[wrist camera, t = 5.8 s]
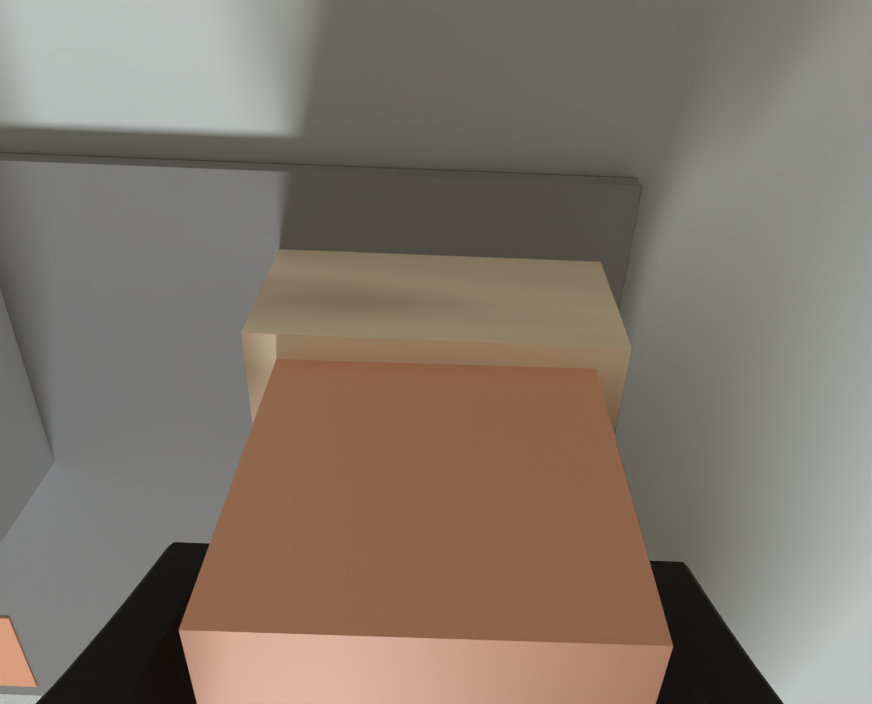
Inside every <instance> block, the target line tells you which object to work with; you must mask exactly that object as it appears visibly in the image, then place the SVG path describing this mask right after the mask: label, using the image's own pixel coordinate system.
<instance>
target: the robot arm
mask: <svg viewBox="0 0 872 704" xmlns="http://www.w3.org/2000/svg"><path fill="white" fill-rule="evenodd" d="M209 544H210V543H186V542H173V543H172V544H171V545H169V546H168V547H167V548H166V549H165V551H164V552H163V553H162V555H161V556H160V557H159V559H158V560H157V561H156V562H155V564H154V565H153V566H152V568H151V569H150V570H149V571H148V573H147V574H146V575H145V577H144V578H143V579H142V580H141V582H140V583H139V584H138V585H137V587H136V588H135V589H134V590H133V592H132V593H131V594H130V595H129V597H128V598H127V599H126V600H125V602H124V603H123V604H122V605H121V607H120V608H119V609H118V610H117V611H116V613H115V614H114V615H113V616H112V618H111V619H110V620H109V621H108V622H107V624H106V625H105V626H104V627H103V628H102V630H101V631H100V632H99V633H98V634H97V635H96V637H95V638H94V639H93V640H92V641H91V642H90V644H89V645H88V646H87V647H86V648H85V649H84V650H83V652H82V653H81V654H80V655H79V656H78V657H77V659H76V660H75V661H74V662H73V663H72V664H71V666H70V667H69V668H68V669H67V670H66V671H65V672H64V674H63V675H62V676H61V677H60V678H59V679H58V680H57V681H56V683H55V684H54V685H53V686H52V687H51V688H50V689H49V690H48V691H47V692H46V693H45V694H44V695H43V696H42V698H41V699H40V700H39V701H38V702H37V703H36V704H197V702H196V698H195V694H194V690H193V686H192V682H191V678H190V674H189V670H188V666H187V662H186V658H185V654H184V650H183V646H182V642H181V638H180V634H179V628H180V625H181V622H182V619H183V617H184V614H185V611H186V608H187V606H188V603H189V600H190V597H191V594H192V592H193V589H194V586H195V583H196V581H197V578H198V575H199V572H200V569H201V567H202V564H203V561H204V558H205V556H206V553H207V550H208V547H209ZM650 565H651V568H652V572H653V576H654V579H655V583H656V586H657V590H658V593H659V597H660V601H661V604H662V608H663V611H664V615H665V619H666V622H667V626H668V629H669V633H670V636H671V640H672V644H673V649H672V652H671V655H670V658H669V662H668V665H667V668H666V672H665V675H664V678H663V681H662V685H661V688H660V691H659V695H658V698H657V701H656V704H784V703H783V702H782V701H781V699H780V698H779V697H778V695H777V694H776V693H775V691H774V690H773V689H772V687H771V686H770V685H769V683H768V682H767V681H766V679H765V678H764V677H763V675H762V674H761V673H760V671H759V670H758V669H757V667H756V666H755V665H754V663H753V662H752V660H751V659H750V658H749V656H748V655H747V653H746V652H745V651H744V649H743V648H742V646H741V645H740V644H739V642H738V641H737V639H736V638H735V636H734V635H733V633H732V632H731V631H730V629H729V628H728V626H727V625H726V623H725V622H724V620H723V619H722V617H721V616H720V615H719V613H718V612H717V610H716V609H715V607H714V606H713V604H712V603H711V601H710V600H709V598H708V597H707V595H706V594H705V592H704V591H703V589H702V588H701V586H700V585H699V583H698V582H697V580H696V578H695V577H694V575H693V574H692V572H691V571H690V569H689V568H688V567H687V566H686V565H685V564H684V563H683V562H667V561H650Z"/></svg>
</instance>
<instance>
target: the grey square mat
mask: <svg viewBox="0 0 872 704" xmlns="http://www.w3.org/2000/svg"><path fill="white" fill-rule="evenodd" d="M641 188H642V185H641V184H640V182H639V180H638V178H622V177H597V176H572V175H546V174H521V173H496V172H471V171H446V170H421V169H396V168H370V167H345V166H320V165H295V164H270V163H245V162H219V161H194V160H169V159H144V158H119V157H94V156H68V155H43V154H18V153H0V290H1V293H2V296H3V299H4V302H5V305H6V309H7V312H8V315H9V318H10V321H11V325H12V328H13V331H14V334H15V337H16V341H17V344H18V347H19V350H20V353H21V357H22V360H23V363H24V366H25V369H26V373H27V376H28V379H29V382H30V385H31V389H32V392H33V395H34V398H35V401H36V405H37V408H38V411H39V414H40V417H41V421H42V424H43V427H44V430H45V433H46V437H47V440H48V443H49V446H50V449H51V453H52V456H53V459H54V464H53V465H52V467H51V468H50V470H49V471H48V473H47V474H46V476H45V477H44V479H43V480H42V482H41V483H40V485H39V486H38V488H37V489H36V491H35V492H34V494H33V495H32V497H31V498H30V500H29V501H28V503H27V504H26V506H25V507H24V509H23V510H22V512H21V513H20V515H19V516H18V518H17V519H16V521H15V522H14V524H13V525H12V527H11V528H10V530H9V531H8V533H7V534H6V536H5V537H4V539H3V540H2V542H1V543H0V694H15V695H41V696H43V695H44V694H45V693H46V692H47V691H48V690H49V689H50V688H51V687H52V686H53V685H54V684H55V683H56V681H57V680H58V679H59V678H60V677H61V676H62V675H63V674H64V672H65V671H66V670H67V669H68V668H69V667H70V666H71V664H72V663H73V662H74V661H75V660H76V659H77V657H78V656H79V655H80V654H81V653H82V652H83V650H84V649H85V648H86V647H87V646H88V645H89V644H90V642H91V641H92V640H93V639H94V638H95V637H96V635H97V634H98V633H99V632H100V631H101V630H102V628H103V627H104V626H105V625H106V624H107V622H108V621H109V620H110V619H111V618H112V616H113V615H114V614H115V613H116V611H117V610H118V609H119V608H120V607H121V605H122V604H123V603H124V602H125V600H126V599H127V598H128V597H129V595H130V594H131V593H132V592H133V590H134V589H135V588H136V587H137V585H138V584H139V583H140V582H141V580H142V579H143V578H144V577H145V575H146V574H147V573H148V571H149V570H150V569H151V568H152V566H153V565H154V564H155V562H156V561H157V560H158V559H159V557H160V556H161V555H162V553H163V552H164V551H165V549H166V548H167V547H168V546H169V545H171V544H172V543H173V542H186V543H210V542H211V539H212V536H213V533H214V531H215V528H216V525H217V522H218V519H219V517H220V514H221V511H222V508H223V506H224V503H225V500H226V497H227V494H228V492H229V489H230V486H231V483H232V481H233V478H234V475H235V472H236V469H237V467H238V464H239V461H240V458H241V456H242V453H243V450H244V447H245V444H246V442H247V439H248V436H249V433H250V431H251V428H252V417H251V409H250V401H249V393H248V385H247V377H246V369H245V361H244V353H243V345H242V337H241V332H242V330H243V327H244V325H245V323H246V321H247V319H248V316H249V314H250V312H251V310H252V308H253V305H254V303H255V301H256V299H257V297H258V294H259V292H260V290H261V288H262V286H263V283H264V281H265V279H266V277H267V275H268V272H269V270H270V268H271V266H272V264H273V261H274V259H275V257H276V255H277V253H278V250H279V249H288V250H313V251H338V252H364V253H389V254H415V255H440V256H466V257H491V258H517V259H542V260H568V261H593V262H601V264H602V267H603V270H604V272H605V275H606V278H607V281H608V283H609V286H610V289H611V291H612V294H613V297H614V300H615V302H616V305H617V308H618V311H619V305H620V300H621V295H622V289H623V284H624V279H625V273H626V268H627V263H628V257H629V252H630V247H631V241H632V236H633V231H634V225H635V220H636V215H637V210H638V204H639V199H640V194H641Z"/></svg>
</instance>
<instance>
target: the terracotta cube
mask: <svg viewBox="0 0 872 704" xmlns="http://www.w3.org/2000/svg"><path fill="white" fill-rule="evenodd" d="M179 634H180V638H181V642H182V646H183V650H184V654H185V658H186V662H187V666H188V670H189V674H190V678H191V682H192V686H193V690H194V694H195V698H196V702H197V704H656V701H657V698H658V695H659V691H660V688H661V685H662V681H663V678H664V675H665V672H666V668H667V665H668V662H669V658H670V655H671V652H672V649H673V644H672V640H671V636H670V633H669V629H668V626H667V622H666V619H665V615H664V611H663V608H662V604H661V601H660V597H659V593H658V590H657V586H656V583H655V579H654V576H653V572H652V568H651V565H650V561H649V558H648V554H647V550H646V547H645V543H644V540H643V536H642V532H641V529H640V525H639V522H638V518H637V515H636V511H635V507H634V504H633V500H632V497H631V493H630V489H629V486H628V482H627V479H626V475H625V471H624V468H623V464H622V461H621V457H620V454H619V450H618V446H617V443H616V439H615V436H614V432H613V428H612V425H611V421H610V418H609V414H608V410H607V407H606V403H605V400H604V396H603V393H602V389H601V385H600V382H599V378H598V375H597V371H596V369H584V368H551V367H518V366H486V365H453V364H420V363H388V362H355V361H322V360H289V359H276V361H275V364H274V367H273V370H272V372H271V375H270V378H269V381H268V383H267V386H266V389H265V392H264V395H263V397H262V400H261V403H260V406H259V408H258V411H257V414H256V417H255V419H254V422H253V425H252V428H251V431H250V433H249V436H248V439H247V442H246V444H245V447H244V450H243V453H242V456H241V458H240V461H239V464H238V467H237V469H236V472H235V475H234V478H233V481H232V483H231V486H230V489H229V492H228V494H227V497H226V500H225V503H224V506H223V508H222V511H221V514H220V517H219V519H218V522H217V525H216V528H215V531H214V533H213V536H212V539H211V542H210V544H209V547H208V550H207V553H206V556H205V558H204V561H203V564H202V567H201V569H200V572H199V575H198V578H197V581H196V583H195V586H194V589H193V592H192V594H191V597H190V600H189V603H188V606H187V608H186V611H185V614H184V617H183V619H182V622H181V625H180V628H179Z"/></svg>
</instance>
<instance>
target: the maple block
mask: <svg viewBox="0 0 872 704" xmlns="http://www.w3.org/2000/svg"><path fill="white" fill-rule="evenodd" d="M241 337H242V345H243V353H244V361H245V369H246V377H247V385H248V393H249V401H250V409H251V417H252V425H253V422H254V419H255V417H256V414H257V411H258V408H259V406H260V403H261V400H262V397H263V395H264V392H265V389H266V386H267V383H268V381H269V378H270V375H271V372H272V370H273V367H274V364H275V361H276V359H289V360H322V361H355V362H388V363H420V364H453V365H486V366H518V367H551V368H584V369H596V371H597V375H598V378H599V382H600V385H601V389H602V393H603V396H604V400H605V403H606V407H607V410H608V414H609V418H610V421H611V425H612V428H613V432H614V434H615V430H616V425H617V420H618V415H619V410H620V405H621V400H622V395H623V391H624V386H625V381H626V376H627V371H628V366H629V361H630V356H631V352H632V346H631V343H630V341H629V338H628V335H627V332H626V330H625V327H624V324H623V322H622V319H621V316H620V313H619V311H618V308H617V305H616V302H615V300H614V297H613V294H612V291H611V289H610V286H609V283H608V281H607V278H606V275H605V272H604V270H603V267H602V264H601V262H593V261H568V260H542V259H517V258H491V257H466V256H440V255H415V254H389V253H364V252H338V251H313V250H288V249H279V250H278V253H277V255H276V257H275V259H274V261H273V264H272V266H271V268H270V270H269V272H268V275H267V277H266V279H265V281H264V283H263V286H262V288H261V290H260V292H259V294H258V297H257V299H256V301H255V303H254V305H253V308H252V310H251V312H250V314H249V316H248V319H247V321H246V323H245V325H244V327H243V330H242V332H241Z"/></svg>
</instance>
